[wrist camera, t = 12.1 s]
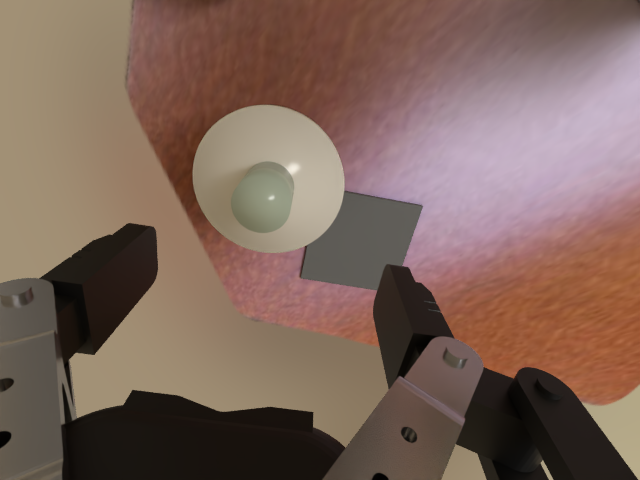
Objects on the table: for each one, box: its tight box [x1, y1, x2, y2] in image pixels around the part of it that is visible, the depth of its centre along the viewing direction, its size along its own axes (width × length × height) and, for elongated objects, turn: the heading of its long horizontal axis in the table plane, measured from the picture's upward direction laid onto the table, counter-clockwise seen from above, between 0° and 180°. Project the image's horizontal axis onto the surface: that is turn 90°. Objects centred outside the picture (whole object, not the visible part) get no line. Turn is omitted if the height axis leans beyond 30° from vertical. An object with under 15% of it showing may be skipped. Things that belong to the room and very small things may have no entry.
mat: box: [301, 191, 423, 290], centre depth 46 cm, size 14×14×1 cm
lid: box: [192, 104, 345, 253], centre depth 25 cm, size 12×12×6 cm
